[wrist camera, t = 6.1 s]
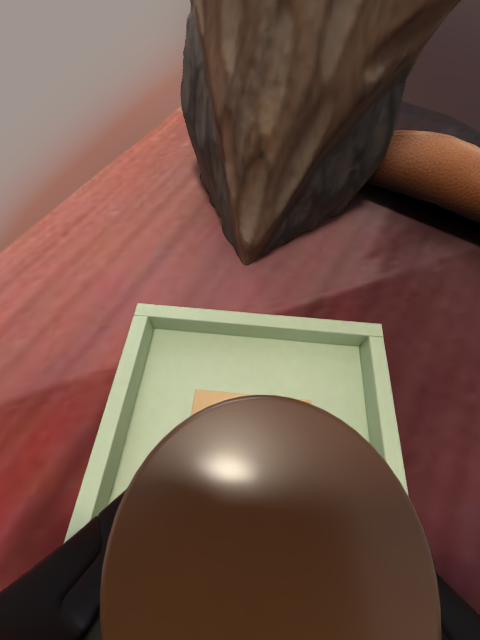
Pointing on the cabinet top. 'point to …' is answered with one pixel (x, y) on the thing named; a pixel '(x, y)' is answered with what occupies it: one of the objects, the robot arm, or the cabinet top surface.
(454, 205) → the sunglasses case
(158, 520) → the rubber stamp
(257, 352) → the tray
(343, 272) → the cabinet top surface
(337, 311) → the cabinet top surface
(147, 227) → the cabinet top surface
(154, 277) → the cabinet top surface
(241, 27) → the jagged stone chunk
